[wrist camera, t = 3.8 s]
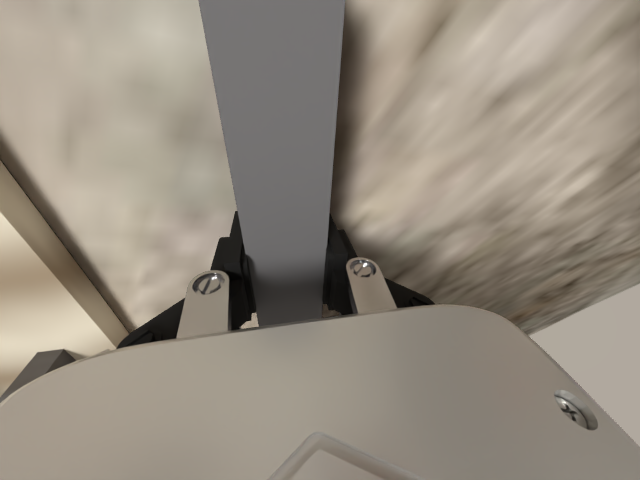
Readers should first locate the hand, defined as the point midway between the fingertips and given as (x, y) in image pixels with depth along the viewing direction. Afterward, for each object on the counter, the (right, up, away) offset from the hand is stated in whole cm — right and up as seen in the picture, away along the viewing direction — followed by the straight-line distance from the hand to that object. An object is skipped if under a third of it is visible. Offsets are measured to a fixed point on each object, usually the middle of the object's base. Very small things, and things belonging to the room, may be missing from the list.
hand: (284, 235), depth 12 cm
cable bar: (0, 0, +1) cm, 1 cm away
